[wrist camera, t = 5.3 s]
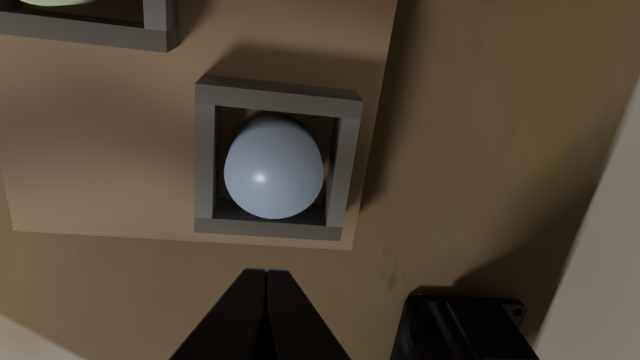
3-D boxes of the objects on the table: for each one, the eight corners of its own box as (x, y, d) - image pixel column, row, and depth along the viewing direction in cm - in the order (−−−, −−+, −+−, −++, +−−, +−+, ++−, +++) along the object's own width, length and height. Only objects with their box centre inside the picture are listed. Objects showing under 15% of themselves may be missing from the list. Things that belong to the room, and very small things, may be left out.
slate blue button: (314, 200, 16) (317, 221, 14) (228, 194, 15) (222, 215, 14) (325, 118, 15) (329, 132, 13) (231, 109, 14) (225, 123, 13)
